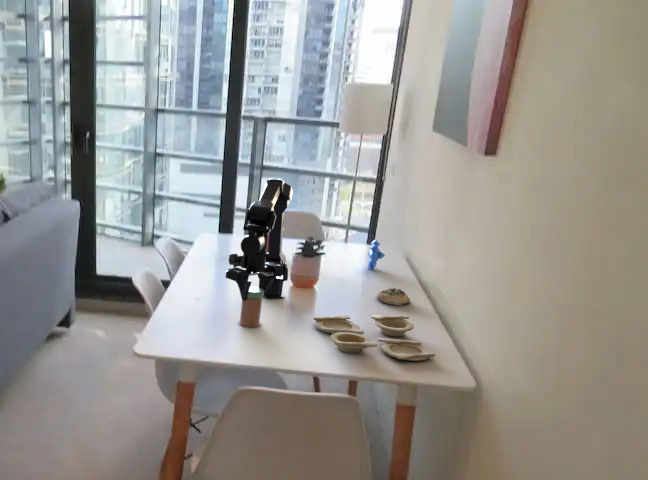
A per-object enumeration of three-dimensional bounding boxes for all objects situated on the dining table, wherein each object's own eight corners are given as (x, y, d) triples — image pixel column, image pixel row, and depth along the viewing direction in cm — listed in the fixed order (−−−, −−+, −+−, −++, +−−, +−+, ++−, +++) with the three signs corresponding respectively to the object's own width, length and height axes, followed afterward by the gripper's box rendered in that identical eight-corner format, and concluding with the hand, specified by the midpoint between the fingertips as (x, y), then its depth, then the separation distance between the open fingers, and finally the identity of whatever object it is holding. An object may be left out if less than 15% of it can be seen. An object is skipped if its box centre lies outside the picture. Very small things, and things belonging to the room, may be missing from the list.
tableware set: (310, 319, 228) (311, 307, 226) (402, 323, 228) (404, 311, 226) (332, 360, 196) (334, 346, 194) (440, 366, 196) (443, 352, 194)
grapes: (381, 273, 286) (386, 243, 281) (363, 271, 288) (368, 241, 283) (383, 266, 296) (388, 238, 291) (366, 264, 298) (371, 236, 293)
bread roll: (382, 293, 258) (386, 280, 256) (412, 303, 253) (416, 290, 250) (371, 301, 250) (375, 288, 247) (402, 312, 245) (406, 299, 242)
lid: (258, 291, 222) (258, 285, 221) (267, 298, 216) (268, 292, 215) (238, 292, 220) (238, 286, 219) (246, 299, 214) (247, 292, 213)
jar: (254, 320, 225) (257, 287, 221) (262, 326, 219) (266, 293, 215) (236, 321, 223) (239, 288, 219) (244, 327, 218) (247, 294, 214)
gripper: (260, 240, 223) (255, 288, 229) (215, 246, 213) (211, 296, 219) (287, 247, 215) (281, 297, 221) (241, 254, 205) (236, 306, 211)
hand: (252, 299), depth 218 cm, fingers closed on lid, 6 cm apart
